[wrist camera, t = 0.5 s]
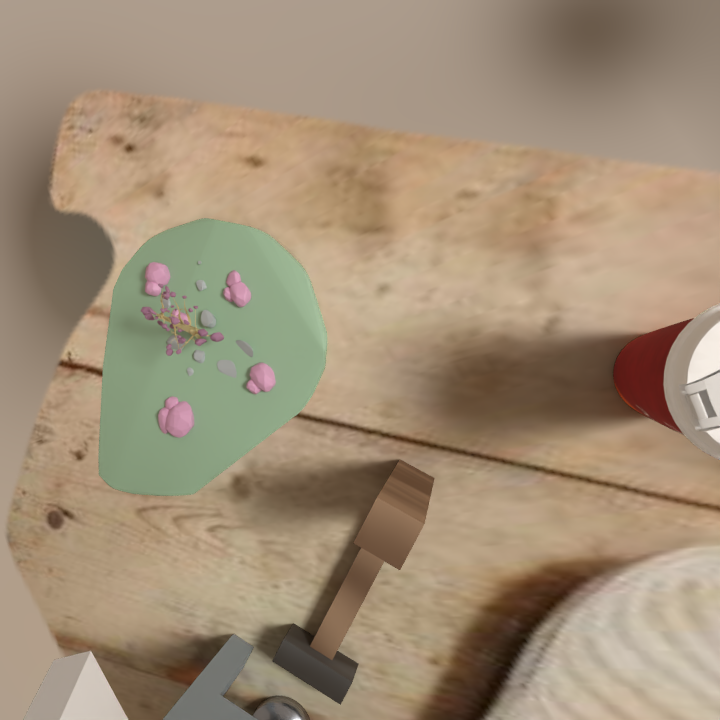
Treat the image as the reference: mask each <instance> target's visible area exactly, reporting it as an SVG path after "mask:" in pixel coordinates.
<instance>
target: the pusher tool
mask: <svg viewBox="0 0 720 720" xmlns="http://www.w3.org/2000/svg"><path fill="white" fill-rule="evenodd" d="M433 482H434V478H433V477H431V476H429V475H427V474H426V473H424V472H422V471H420V470H418V469H416V468H415V467H413V466H411V465H409V464H407V463H406V462H404V461H402V460H399V462H398V463H397V465H396V467H395V468H394V470H393V472H392V473H391V475H390V477H389V478H388V480H387V481H386V483H385V485H384V486H383V488H382V490H381V491H380V493H379V495H378V496H377V498H376V500H375V502H374V504H373V506H372V508H371V510H370V512H369V514H368V516H367V517H366V519H365V521H364V523H363V525H362V527H361V529H360V531H359V533H358V535H357V537H356V539H355V541H354V544H356V545H357V546H359V547H361V549H360V551H359V553H358V555H357V557H356V559H355V561H354V562H353V564H352V566H351V568H350V570H349V572H348V574H347V576H346V578H345V580H344V582H343V584H342V586H341V587H340V589H339V591H338V593H337V595H336V597H335V599H334V601H333V603H332V605H331V607H330V609H329V610H328V612H327V614H326V616H325V618H324V620H323V622H322V624H321V626H320V628H319V630H318V632H317V634H316V635H315V637H314V636H313V635H311V634H310V633H308V632H306V631H305V630H303V629H302V628H300V627H298V626H297V625H295V624H293V625H292V627H291V628H290V630H289V631H288V633H287V635H286V636H285V638H284V640H283V641H282V643H281V645H280V647H279V649H278V651H277V653H276V655H275V657H274V659H273V662H275V663H276V664H278V665H279V666H281V667H282V668H284V669H286V670H287V671H289V672H290V673H292V674H293V675H295V676H296V677H298V678H300V679H301V680H303V681H304V682H306V683H307V684H309V685H311V686H312V687H314V688H315V689H317V690H318V691H320V692H322V693H323V694H325V695H326V696H328V697H329V698H331V699H332V700H334V701H336V702H337V703H339V704H341V703H342V701H343V699H344V697H345V695H346V693H347V691H348V689H349V687H350V686H351V684H352V682H353V679H354V676H355V673H356V670H357V667H358V663H356V662H355V661H353V660H351V659H350V658H348V657H347V656H345V655H343V654H342V653H340V652H339V651H337V650H338V648H339V646H340V645H341V643H342V641H343V639H344V637H345V635H346V633H347V631H348V629H349V627H350V626H351V624H352V622H353V620H354V618H355V616H356V614H357V612H358V610H359V608H360V606H361V605H362V603H363V601H364V599H365V597H366V595H367V593H368V591H369V589H370V587H371V586H372V584H373V582H374V580H375V578H376V576H377V574H378V572H379V570H380V568H381V567H382V565H383V563H384V561H385V562H387V563H388V564H390V565H392V566H393V567H395V568H397V569H399V570H400V569H401V567H402V565H403V563H404V562H405V560H406V558H407V556H408V554H409V552H410V550H411V548H412V546H413V545H414V543H415V541H416V539H417V537H418V535H419V533H420V531H421V529H422V528H423V526H424V523H425V519H426V514H427V510H428V505H429V500H430V496H431V491H432V487H433Z"/></svg>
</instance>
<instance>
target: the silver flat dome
mask: <svg viewBox="0 0 720 720" xmlns="http://www.w3.org/2000/svg"><path fill="white" fill-rule="evenodd" d="M253 717H255V718H256V719H258V720H310V718H309V716H308V714H307V712H306V711H305V709H304V708H303V707H302V706H301V705H300V704H299V703H298V702H296V701H295V700H293V699H291V698H289V697H285V696H273V697H269V698H267V699H265V700H264V701H263V702H262V703H260V705H259V706H258V707H257V709H256V711H255V712H254V714H253Z"/></svg>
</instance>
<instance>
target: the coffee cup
mask: <svg viewBox="0 0 720 720" xmlns="http://www.w3.org/2000/svg"><path fill="white" fill-rule="evenodd" d="M613 377H614V383H615V387H616V389H617V391H618V393H619V395H620V396H621V398H622V399H623V400H624V401H625V402H626V403H627V404H628V405H629V406H630V407H632V408H633V409H634V410H636V411H638V412H639V413H641V414H643V415H645V416H647V417H649V418H650V419H652V420H654V421H656V422H658V423H660V424H662V425H664V426H666V427H668V428H670V429H672V430H675V431H677V432H679V433H681V434H683V435H685V436H686V437H687V438H688V439H689V440H690V441H691V442H692V443H693V444H694V445H695V446H697V447H698V448H699V449H701V450H702V451H703V452H705V453H707V454H709V455H711V456H712V457H714V458H716V459H718V460H720V303H719V304H717V305H715V306H712V307H710V308H709V309H707V310H705V311H704V312H702V313H701V314H699V315H698V316H697V317H695V318H693V319H690V320H686V321H683V322H680V323H677V324H674V325H671V326H668V327H665V328H661V329H658V330H656V331H653V332H650V333H647V334H645V335H642V336H640V337H638V338H636V339H634V340H633V341H631V342H630V343H628V344H627V345H626V346H625V347H624V348H623V349H622V351H621V352H620V354H619V355H618V357H617V359H616V362H615V365H614V372H613Z"/></svg>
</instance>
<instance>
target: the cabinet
mask: <svg viewBox="0 0 720 720" xmlns="http://www.w3.org/2000/svg"><path fill="white" fill-rule="evenodd" d="M253 648H254V647H253V646H252V645H250V644H249V643H247V642H245V641H244V640H242V639H241V638H239V637H238V636H236V635H234V634H233V635H232V636H231V637H230V639H229V640H228V641H227V642H226V643H225V645H224V646H223V647H222V648H221V649H220V651H219V652H218V653H217V654H216V656H215V657H214V658H213V659H212V660H211V662H210V663H209V664H208V665H207V666H206V668H205V669H204V670H203V671H202V672H201V674H200V675H199V676H198V677H197V678H196V680H195V681H194V682H193V683H192V685H191V686H190V687H189V688H188V689H187V691H186V692H185V693H184V694H183V695H182V697H181V698H180V699H179V700H178V701H177V703H176V704H175V705H174V706H173V707H172V709H171V710H170V711H169V712H168V714H167V715H166V716H165V717H164V718H163V720H258V719H256V718H255V717H253V716H251V715H250V714H248V713H247V712H245V711H244V710H242V709H241V708H239V707H238V706H236V705H235V704H233V703H232V702H230V701H229V700H227V699H226V698H224V697H223V696H224V694H225V693H226V691H227V690H228V689H229V687H230V686H231V684H232V683H233V682H234V680H235V679H236V677H237V676H238V674H239V673H240V672H241V670H242V669H243V667H244V665H245V663H246V661H247V659H248V657H249V655H250V654H251V652H252V650H253Z"/></svg>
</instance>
